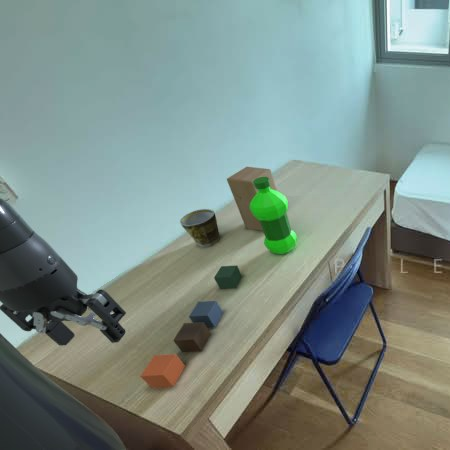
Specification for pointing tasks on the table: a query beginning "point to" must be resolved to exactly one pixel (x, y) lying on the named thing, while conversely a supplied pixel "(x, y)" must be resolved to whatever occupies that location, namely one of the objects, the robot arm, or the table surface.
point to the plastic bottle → (272, 217)
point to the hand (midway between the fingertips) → (94, 339)
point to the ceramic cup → (201, 226)
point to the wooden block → (248, 192)
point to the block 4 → (228, 277)
